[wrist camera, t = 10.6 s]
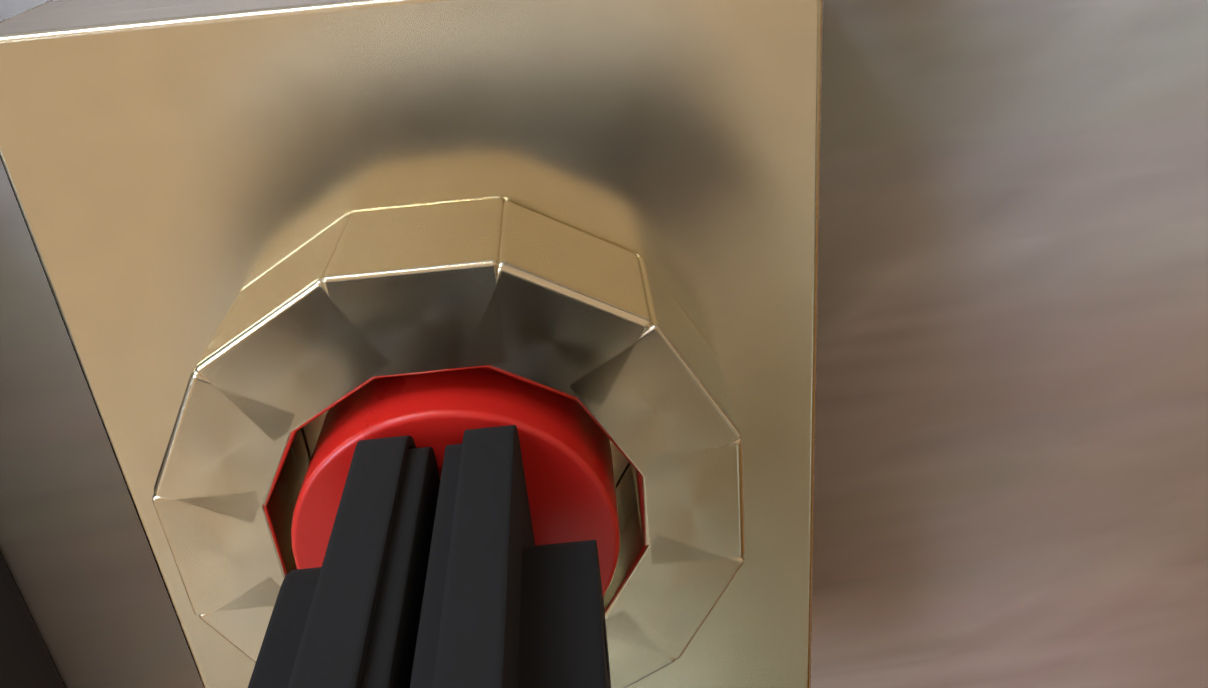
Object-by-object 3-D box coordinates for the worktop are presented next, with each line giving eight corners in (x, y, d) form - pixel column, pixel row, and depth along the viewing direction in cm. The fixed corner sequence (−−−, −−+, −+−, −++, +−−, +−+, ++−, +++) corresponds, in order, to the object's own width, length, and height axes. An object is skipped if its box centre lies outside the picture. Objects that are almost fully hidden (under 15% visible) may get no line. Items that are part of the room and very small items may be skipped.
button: (621, 556, 14) (631, 653, 12) (352, 583, 14) (329, 684, 12) (597, 317, 12) (605, 396, 10) (290, 348, 12) (253, 431, 10)
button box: (782, 606, 18) (841, 808, 14) (265, 658, 18) (196, 874, 14) (782, -72, 12) (876, -16, 9) (43, 0, 12) (-154, 85, 9)
